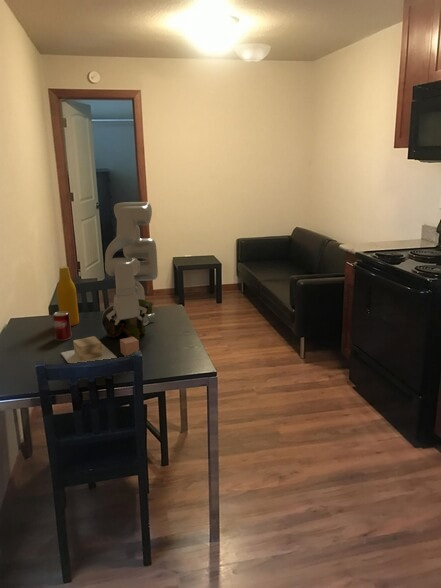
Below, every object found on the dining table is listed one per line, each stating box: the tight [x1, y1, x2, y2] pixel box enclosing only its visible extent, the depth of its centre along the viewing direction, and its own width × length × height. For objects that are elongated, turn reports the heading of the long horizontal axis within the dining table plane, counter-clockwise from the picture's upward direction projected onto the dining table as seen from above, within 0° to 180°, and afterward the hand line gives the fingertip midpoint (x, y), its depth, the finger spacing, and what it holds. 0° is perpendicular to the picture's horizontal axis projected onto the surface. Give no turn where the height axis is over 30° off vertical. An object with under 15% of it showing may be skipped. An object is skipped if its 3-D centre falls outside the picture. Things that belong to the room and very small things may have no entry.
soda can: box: [52, 311, 73, 342], centre depth 219 cm, size 7×7×12 cm
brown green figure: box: [101, 299, 154, 341], centre depth 219 cm, size 19×16×25 cm
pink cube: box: [119, 337, 140, 357], centre depth 202 cm, size 6×6×6 cm
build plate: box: [60, 343, 118, 364], centre depth 199 cm, size 18×18×1 cm
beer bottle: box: [56, 266, 80, 327], centre depth 236 cm, size 9×9×29 cm
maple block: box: [72, 335, 102, 361], centre depth 198 cm, size 9×9×6 cm
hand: (128, 331), depth 199 cm, fingers open, 9 cm apart
